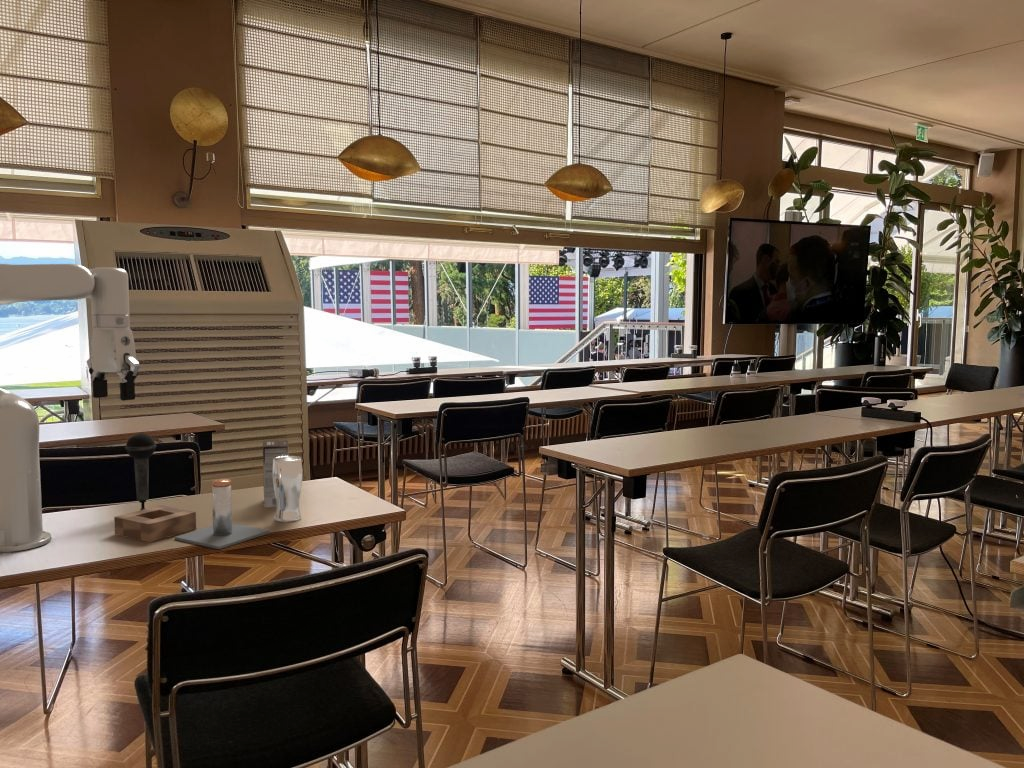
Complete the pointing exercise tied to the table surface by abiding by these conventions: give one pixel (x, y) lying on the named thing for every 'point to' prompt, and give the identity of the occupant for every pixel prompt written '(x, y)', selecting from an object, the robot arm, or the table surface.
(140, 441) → the microphone
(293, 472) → the beer glass
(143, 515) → the eye block
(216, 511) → the steel peg
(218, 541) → the slate mat
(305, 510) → the table surface
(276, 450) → the coffee box
